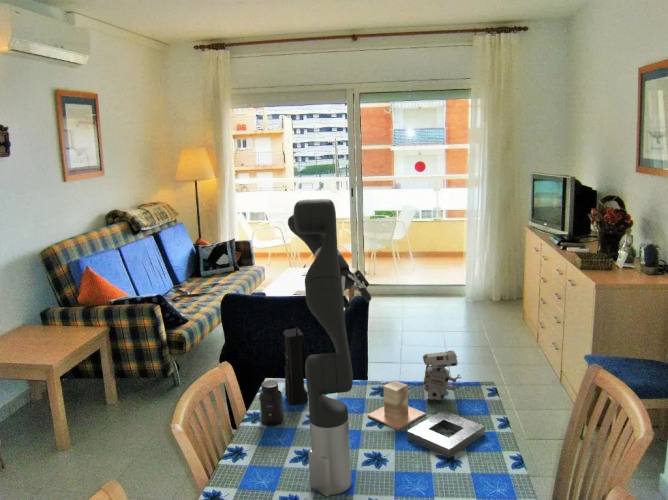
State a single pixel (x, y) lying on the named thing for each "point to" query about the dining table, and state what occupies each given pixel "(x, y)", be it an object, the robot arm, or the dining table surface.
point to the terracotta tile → (396, 423)
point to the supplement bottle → (271, 404)
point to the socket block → (442, 444)
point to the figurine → (438, 374)
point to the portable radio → (294, 367)
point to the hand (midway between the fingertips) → (359, 304)
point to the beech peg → (395, 399)
